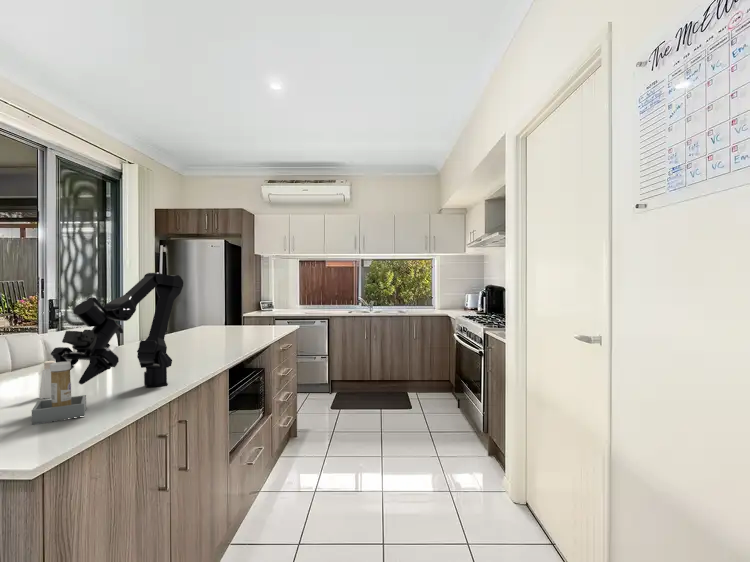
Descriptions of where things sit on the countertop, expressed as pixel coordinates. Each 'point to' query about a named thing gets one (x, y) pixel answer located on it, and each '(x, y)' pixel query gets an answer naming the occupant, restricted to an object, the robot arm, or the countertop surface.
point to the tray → (58, 410)
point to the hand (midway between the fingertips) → (66, 383)
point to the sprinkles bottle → (60, 384)
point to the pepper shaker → (46, 381)
